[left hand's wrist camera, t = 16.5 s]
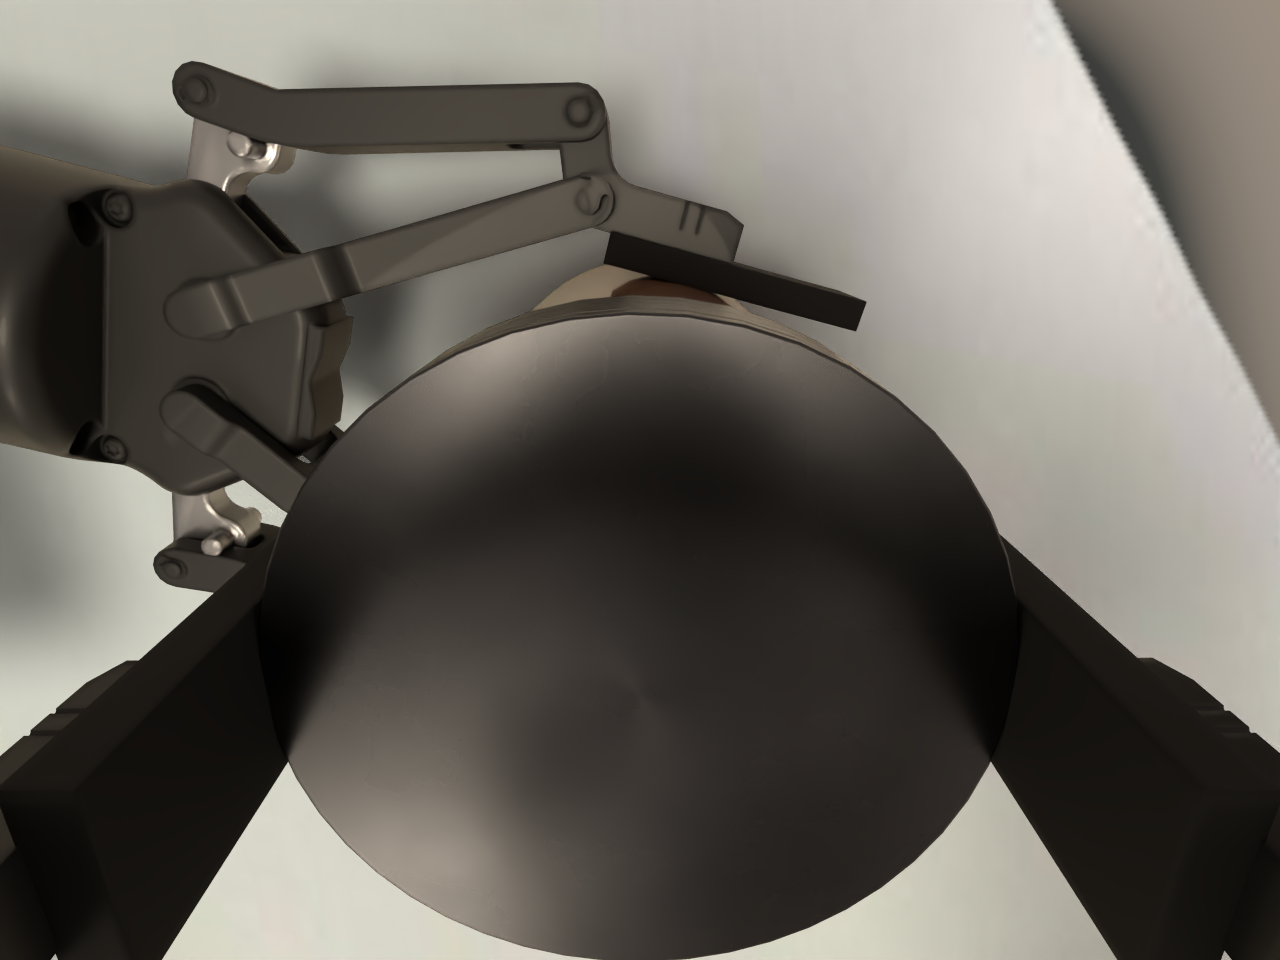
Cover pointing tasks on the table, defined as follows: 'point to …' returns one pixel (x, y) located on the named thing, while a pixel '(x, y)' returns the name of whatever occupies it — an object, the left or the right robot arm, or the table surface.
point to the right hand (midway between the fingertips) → (784, 489)
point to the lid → (639, 632)
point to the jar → (626, 288)
